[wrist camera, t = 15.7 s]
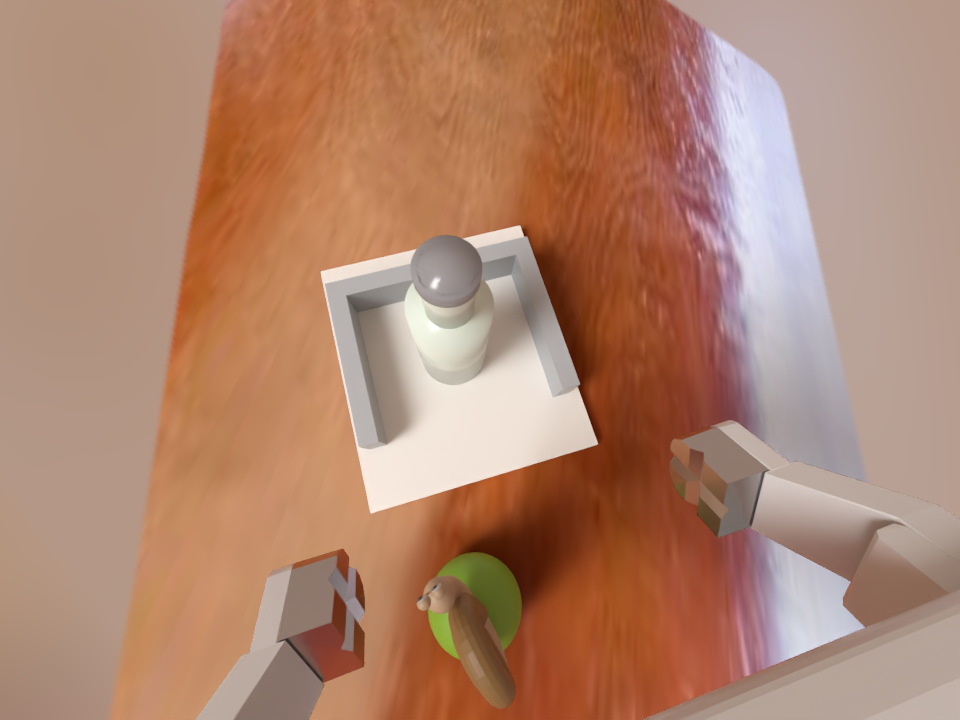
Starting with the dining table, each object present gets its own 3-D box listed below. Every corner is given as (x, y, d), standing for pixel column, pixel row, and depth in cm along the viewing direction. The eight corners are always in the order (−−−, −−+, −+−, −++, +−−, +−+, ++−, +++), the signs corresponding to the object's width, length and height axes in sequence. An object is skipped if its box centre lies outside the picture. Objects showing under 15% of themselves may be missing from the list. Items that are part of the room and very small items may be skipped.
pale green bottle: (492, 375, 29) (515, 303, 16) (430, 392, 28) (405, 331, 16) (475, 317, 30) (484, 208, 18) (414, 333, 30) (380, 232, 17)
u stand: (594, 445, 29) (613, 441, 25) (373, 512, 27) (359, 518, 23) (518, 230, 33) (525, 201, 29) (323, 276, 31) (305, 250, 28)
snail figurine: (475, 514, 27) (485, 546, 16) (532, 601, 26) (588, 706, 14) (407, 565, 26) (363, 640, 15) (462, 658, 25) (462, 820, 13)
